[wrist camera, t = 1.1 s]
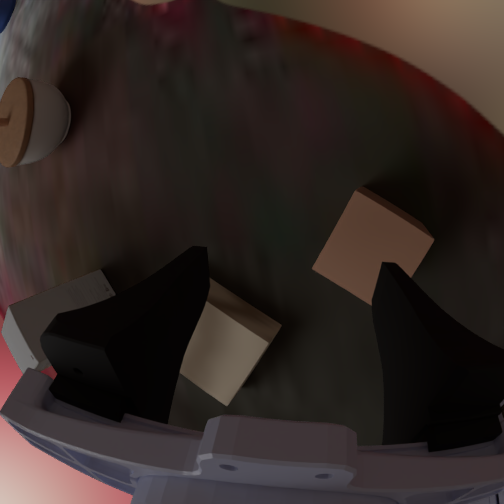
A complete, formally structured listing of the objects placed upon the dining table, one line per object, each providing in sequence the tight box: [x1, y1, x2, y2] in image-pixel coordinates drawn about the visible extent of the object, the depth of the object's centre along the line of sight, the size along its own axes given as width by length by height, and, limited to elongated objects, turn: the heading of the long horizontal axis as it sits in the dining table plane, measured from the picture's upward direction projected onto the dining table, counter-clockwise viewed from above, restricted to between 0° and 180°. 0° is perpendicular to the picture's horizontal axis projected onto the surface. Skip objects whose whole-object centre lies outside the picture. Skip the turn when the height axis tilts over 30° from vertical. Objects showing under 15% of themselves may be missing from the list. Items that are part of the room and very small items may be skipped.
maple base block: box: [180, 278, 282, 406], centre depth 28 cm, size 9×9×4 cm
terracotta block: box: [312, 186, 434, 306], centre depth 19 cm, size 5×5×6 cm
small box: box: [1, 269, 116, 374], centre depth 30 cm, size 8×6×13 cm
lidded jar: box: [0, 77, 71, 167], centre depth 28 cm, size 11×11×9 cm
